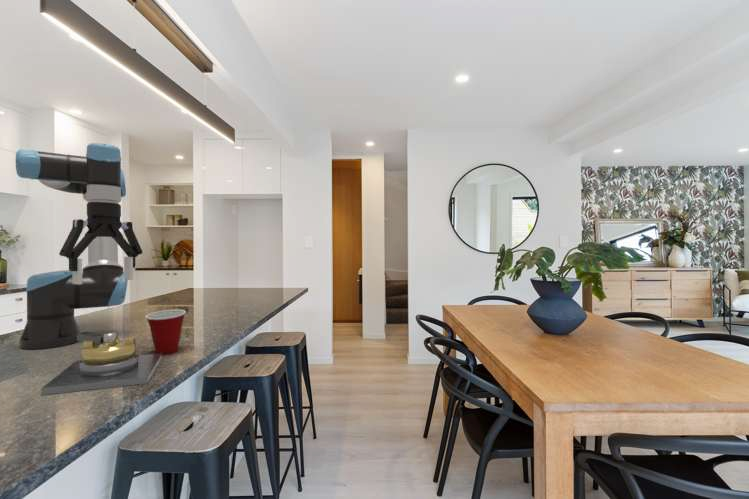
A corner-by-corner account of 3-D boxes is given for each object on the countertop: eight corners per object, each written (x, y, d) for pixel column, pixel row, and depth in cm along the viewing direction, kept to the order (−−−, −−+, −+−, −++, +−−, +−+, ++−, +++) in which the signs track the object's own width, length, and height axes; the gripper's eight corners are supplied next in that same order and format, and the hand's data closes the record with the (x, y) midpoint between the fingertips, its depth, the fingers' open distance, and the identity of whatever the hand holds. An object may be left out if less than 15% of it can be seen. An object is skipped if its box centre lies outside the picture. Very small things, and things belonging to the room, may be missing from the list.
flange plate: (76, 366, 99) (76, 351, 99) (162, 358, 106) (162, 344, 106) (41, 395, 80) (41, 376, 80) (147, 383, 88) (147, 366, 88)
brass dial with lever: (145, 354, 96) (145, 331, 96) (99, 367, 86) (99, 341, 86) (103, 346, 103) (103, 324, 103) (56, 357, 93) (56, 333, 93)
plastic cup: (136, 354, 110) (136, 314, 109) (167, 345, 120) (167, 308, 120) (163, 359, 106) (163, 317, 106) (193, 349, 116) (194, 310, 116)
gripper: (139, 206, 113) (139, 277, 114) (41, 197, 91) (41, 285, 92) (156, 206, 110) (156, 278, 111) (58, 196, 88) (59, 287, 89)
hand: (104, 281), depth 101 cm, fingers open, 12 cm apart
